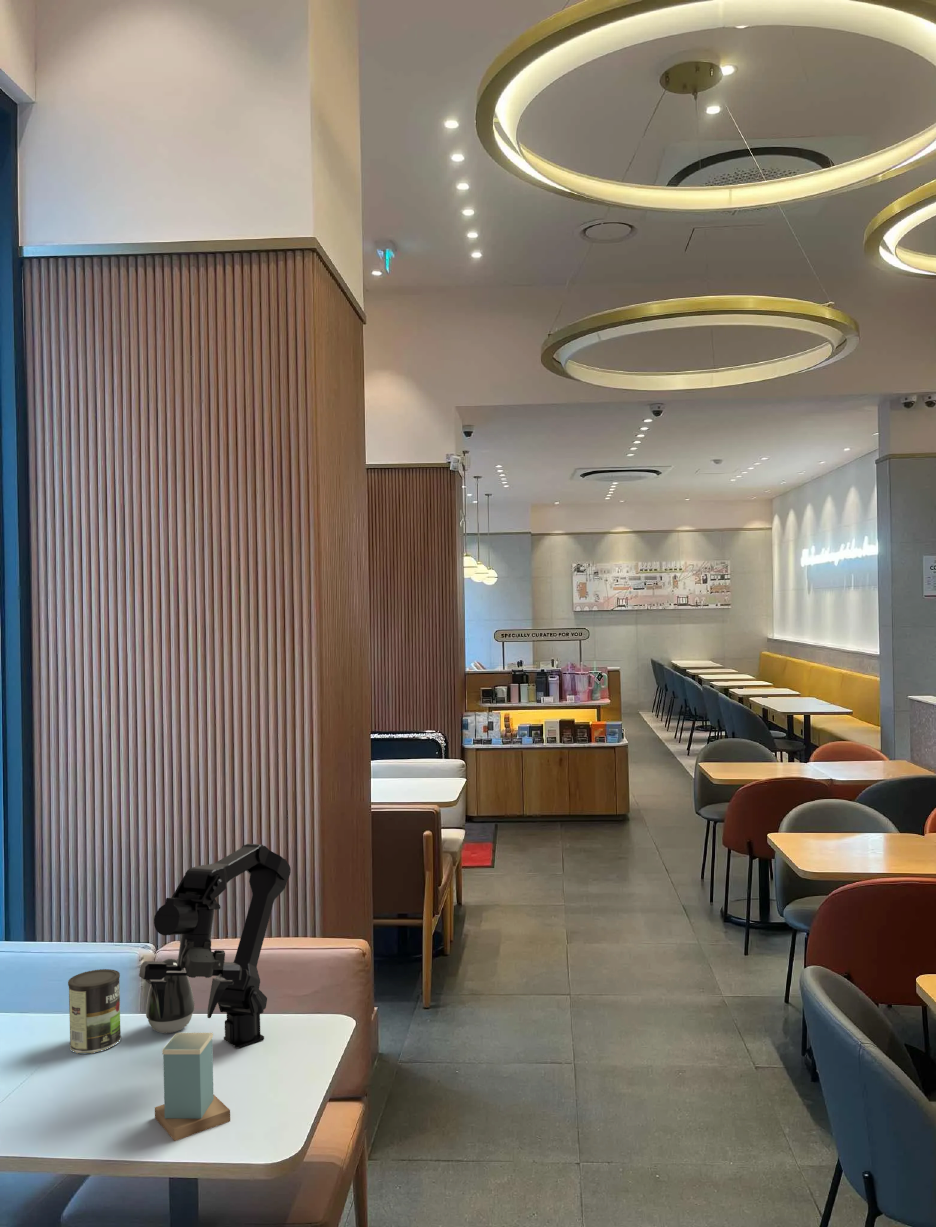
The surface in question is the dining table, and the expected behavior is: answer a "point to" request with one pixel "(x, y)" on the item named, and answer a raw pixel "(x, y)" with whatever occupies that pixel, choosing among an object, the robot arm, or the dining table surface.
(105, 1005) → the coffee can
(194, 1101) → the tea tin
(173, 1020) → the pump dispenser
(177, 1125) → the block
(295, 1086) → the dining table surface
